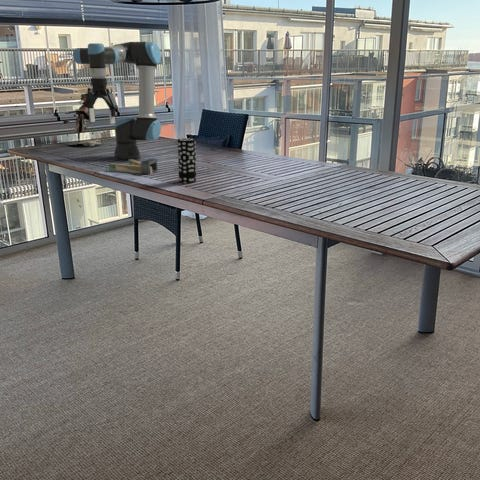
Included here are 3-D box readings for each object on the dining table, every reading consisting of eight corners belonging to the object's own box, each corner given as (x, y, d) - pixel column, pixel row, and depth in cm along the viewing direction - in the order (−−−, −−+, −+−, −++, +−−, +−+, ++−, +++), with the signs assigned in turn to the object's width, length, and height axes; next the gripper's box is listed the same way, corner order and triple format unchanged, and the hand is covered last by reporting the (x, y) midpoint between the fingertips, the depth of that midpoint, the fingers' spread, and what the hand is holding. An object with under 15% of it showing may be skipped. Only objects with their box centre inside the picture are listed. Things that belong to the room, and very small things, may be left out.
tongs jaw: (133, 165, 284) (132, 157, 282) (149, 171, 269) (148, 163, 268) (126, 166, 282) (125, 158, 280) (142, 172, 267) (141, 164, 265)
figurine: (73, 147, 364) (62, 96, 355) (107, 143, 366) (97, 92, 356) (65, 150, 340) (53, 96, 331) (101, 145, 341) (90, 91, 332)
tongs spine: (113, 169, 275) (113, 162, 273) (154, 172, 267) (153, 165, 266) (109, 170, 270) (108, 164, 269) (149, 174, 263) (149, 167, 262)
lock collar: (150, 169, 272) (150, 158, 270) (157, 170, 270) (156, 159, 268) (141, 173, 263) (141, 161, 261) (148, 173, 262) (148, 162, 260)
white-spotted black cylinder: (193, 183, 243) (192, 141, 237) (176, 182, 245) (175, 140, 238) (198, 180, 251) (197, 138, 244) (182, 179, 252) (180, 137, 246)
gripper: (74, 77, 251) (78, 121, 258) (112, 78, 238) (115, 125, 246) (86, 76, 257) (90, 120, 264) (123, 78, 245) (126, 123, 252)
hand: (102, 122), depth 255 cm, fingers open, 13 cm apart
